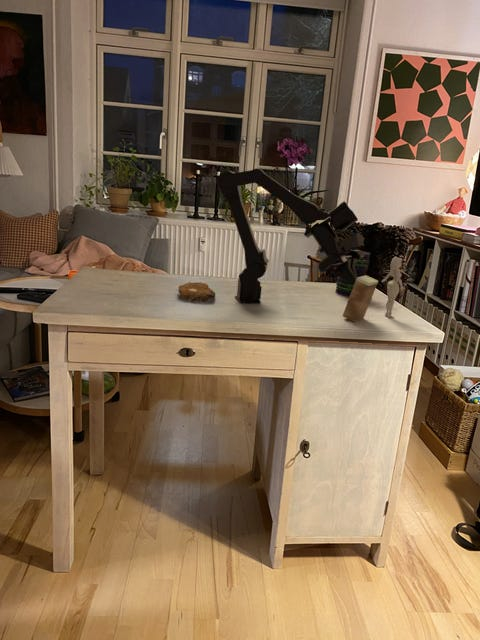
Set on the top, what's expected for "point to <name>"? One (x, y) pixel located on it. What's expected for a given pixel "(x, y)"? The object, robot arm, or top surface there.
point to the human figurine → (393, 284)
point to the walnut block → (360, 298)
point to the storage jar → (361, 268)
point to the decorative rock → (196, 292)
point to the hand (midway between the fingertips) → (357, 285)
